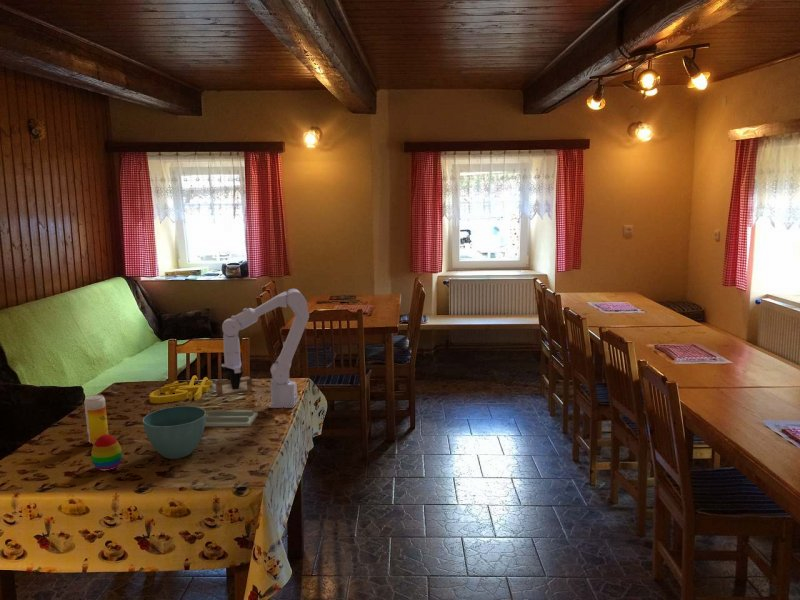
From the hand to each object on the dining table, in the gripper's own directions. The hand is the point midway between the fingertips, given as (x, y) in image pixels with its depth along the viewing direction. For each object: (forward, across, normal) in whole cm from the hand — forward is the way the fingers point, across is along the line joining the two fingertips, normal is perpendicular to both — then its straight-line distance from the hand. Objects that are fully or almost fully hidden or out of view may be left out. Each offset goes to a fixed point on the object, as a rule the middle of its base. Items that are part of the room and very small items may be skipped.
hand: (234, 387), depth 238 cm
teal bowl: (+9, +33, -26) cm, 42 cm away
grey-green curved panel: (+8, +11, -5) cm, 15 cm away
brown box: (+2, 0, 0) cm, 2 cm away
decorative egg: (+9, +33, -45) cm, 57 cm away
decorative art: (+9, -34, -13) cm, 38 cm away
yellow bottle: (+9, +9, -47) cm, 48 cm away
